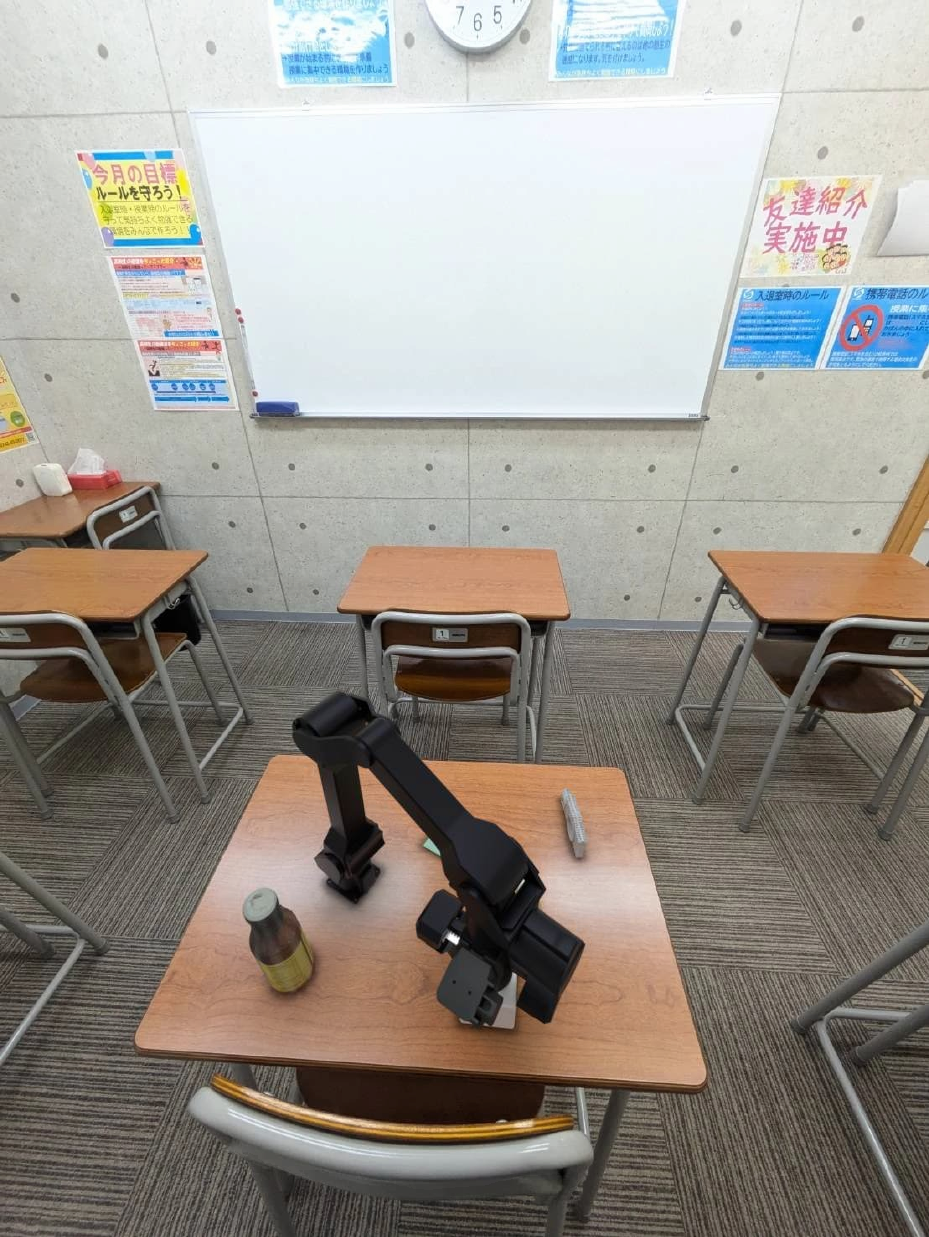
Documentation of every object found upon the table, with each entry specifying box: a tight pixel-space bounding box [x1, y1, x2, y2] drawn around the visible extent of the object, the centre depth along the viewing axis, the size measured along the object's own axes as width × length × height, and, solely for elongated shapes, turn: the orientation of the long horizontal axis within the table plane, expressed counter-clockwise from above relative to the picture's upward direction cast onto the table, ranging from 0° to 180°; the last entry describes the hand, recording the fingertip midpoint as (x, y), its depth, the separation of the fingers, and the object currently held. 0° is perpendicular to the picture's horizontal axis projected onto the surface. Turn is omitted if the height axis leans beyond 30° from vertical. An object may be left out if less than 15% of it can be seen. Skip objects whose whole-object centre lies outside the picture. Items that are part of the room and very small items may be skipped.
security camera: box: [459, 967, 518, 1030], centre depth 67 cm, size 7×7×12 cm
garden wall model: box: [560, 788, 589, 859], centre depth 90 cm, size 12×2×6 cm, turn 3°
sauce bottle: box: [241, 886, 315, 995], centre depth 68 cm, size 7×6×20 cm
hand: (488, 980), depth 68 cm, fingers closed on security camera, 9 cm apart
